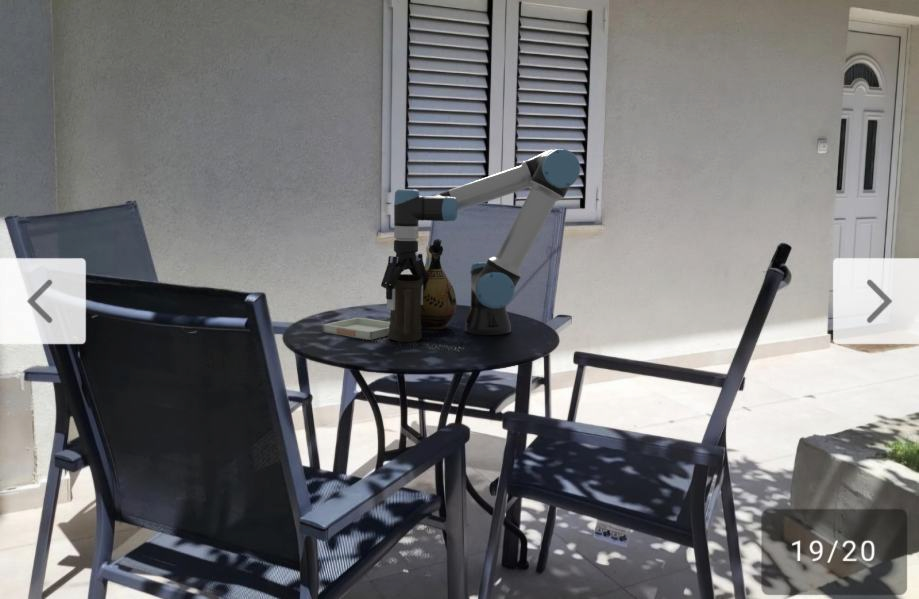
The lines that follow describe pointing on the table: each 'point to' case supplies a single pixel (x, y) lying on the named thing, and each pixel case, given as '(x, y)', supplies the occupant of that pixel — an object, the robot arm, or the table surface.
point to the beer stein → (406, 309)
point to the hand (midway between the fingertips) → (405, 307)
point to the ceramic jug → (437, 293)
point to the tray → (359, 328)
